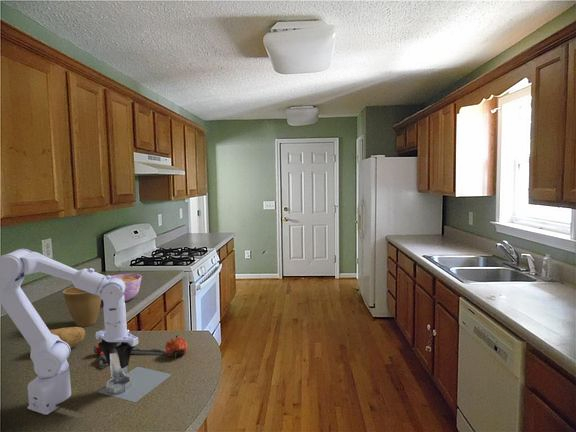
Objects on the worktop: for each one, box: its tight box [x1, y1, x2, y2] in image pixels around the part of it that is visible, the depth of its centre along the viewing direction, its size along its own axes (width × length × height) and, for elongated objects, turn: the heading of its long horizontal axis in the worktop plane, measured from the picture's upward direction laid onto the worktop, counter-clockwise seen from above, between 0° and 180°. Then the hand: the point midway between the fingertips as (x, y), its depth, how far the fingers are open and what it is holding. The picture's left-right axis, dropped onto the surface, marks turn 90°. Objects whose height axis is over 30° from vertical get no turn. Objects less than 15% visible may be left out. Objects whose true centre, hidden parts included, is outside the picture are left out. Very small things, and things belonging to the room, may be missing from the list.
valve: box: [93, 342, 166, 369], centre depth 123 cm, size 6×26×15 cm
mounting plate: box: [98, 366, 172, 403], centre depth 106 cm, size 15×14×1 cm
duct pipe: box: [109, 349, 128, 378], centre depth 103 cm, size 5×4×7 cm
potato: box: [49, 326, 86, 349], centre depth 130 cm, size 10×14×8 cm
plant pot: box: [62, 286, 102, 328], centre depth 154 cm, size 15×15×16 cm
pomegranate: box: [164, 335, 188, 360], centre depth 123 cm, size 7×7×10 cm
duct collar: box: [105, 375, 132, 395], centre depth 104 cm, size 7×7×2 cm
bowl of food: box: [110, 273, 143, 303], centre depth 185 cm, size 20×20×12 cm
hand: (118, 365), depth 103 cm, fingers closed on duct pipe, 4 cm apart
